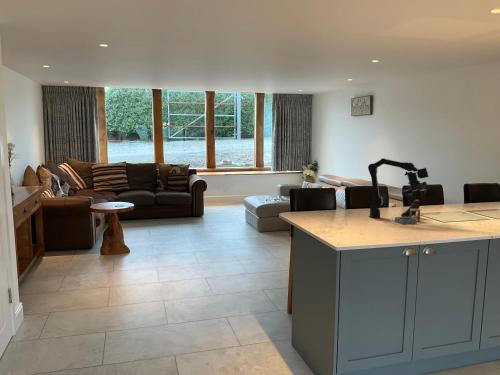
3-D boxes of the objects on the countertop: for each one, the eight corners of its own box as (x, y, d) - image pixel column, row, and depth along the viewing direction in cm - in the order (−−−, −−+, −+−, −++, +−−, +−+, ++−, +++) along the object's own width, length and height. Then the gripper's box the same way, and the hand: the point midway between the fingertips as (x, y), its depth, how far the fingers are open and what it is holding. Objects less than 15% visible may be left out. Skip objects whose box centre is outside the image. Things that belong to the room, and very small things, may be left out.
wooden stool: (419, 221, 287) (420, 210, 286) (409, 221, 289) (410, 209, 288) (419, 220, 293) (419, 208, 292) (409, 219, 295) (409, 208, 294)
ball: (413, 221, 289) (413, 215, 288) (410, 220, 293) (410, 214, 292) (418, 221, 289) (418, 215, 289) (415, 220, 293) (415, 214, 293)
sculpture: (418, 218, 300) (419, 200, 298) (400, 216, 307) (401, 199, 306) (420, 217, 304) (422, 199, 303) (402, 215, 312) (403, 198, 310)
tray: (402, 224, 278) (402, 219, 278) (394, 221, 288) (394, 217, 288) (416, 223, 280) (416, 219, 279) (408, 221, 290) (408, 216, 289)
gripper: (410, 182, 280) (415, 204, 280) (431, 176, 286) (437, 198, 285) (399, 183, 290) (404, 205, 290) (420, 177, 296) (425, 199, 296)
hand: (418, 201), depth 290 cm, fingers open, 9 cm apart
